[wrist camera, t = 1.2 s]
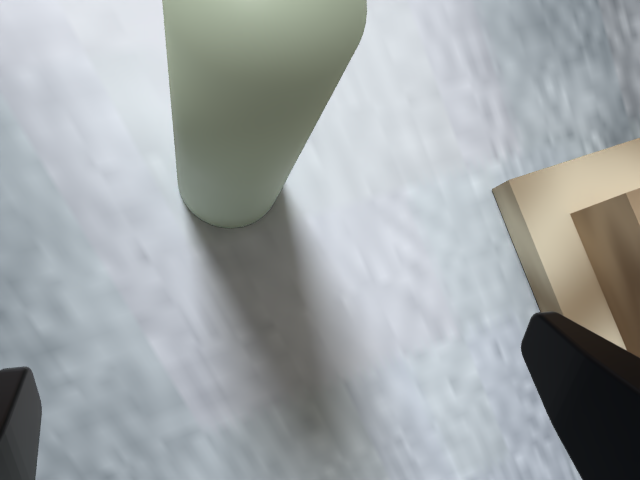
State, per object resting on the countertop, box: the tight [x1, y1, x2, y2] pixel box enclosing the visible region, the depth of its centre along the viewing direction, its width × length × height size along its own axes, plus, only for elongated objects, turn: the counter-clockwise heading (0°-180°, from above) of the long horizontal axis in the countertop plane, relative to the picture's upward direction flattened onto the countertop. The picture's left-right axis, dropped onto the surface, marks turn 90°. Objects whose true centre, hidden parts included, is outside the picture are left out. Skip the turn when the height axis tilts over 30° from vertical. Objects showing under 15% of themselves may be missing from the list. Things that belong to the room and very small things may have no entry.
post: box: [162, 0, 367, 228], centre depth 18 cm, size 4×4×13 cm
